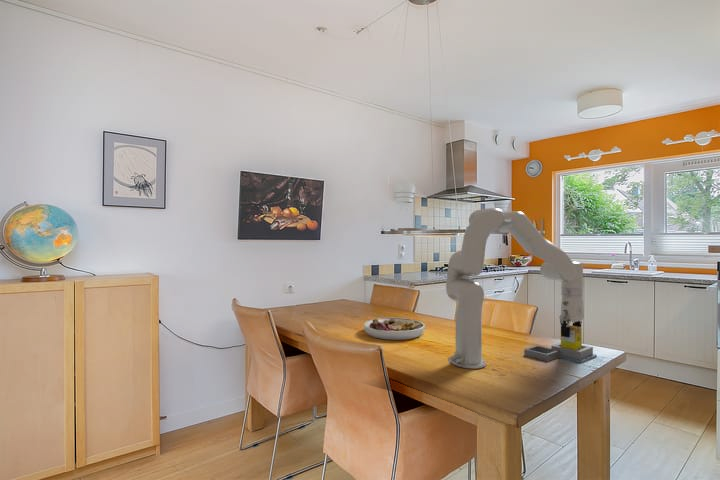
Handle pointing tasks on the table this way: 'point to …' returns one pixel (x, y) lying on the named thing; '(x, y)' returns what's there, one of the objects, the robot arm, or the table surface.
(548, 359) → the grey square tray
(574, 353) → the block
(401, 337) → the bowl
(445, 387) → the table surface
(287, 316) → the table surface
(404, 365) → the table surface
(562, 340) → the supplement box
